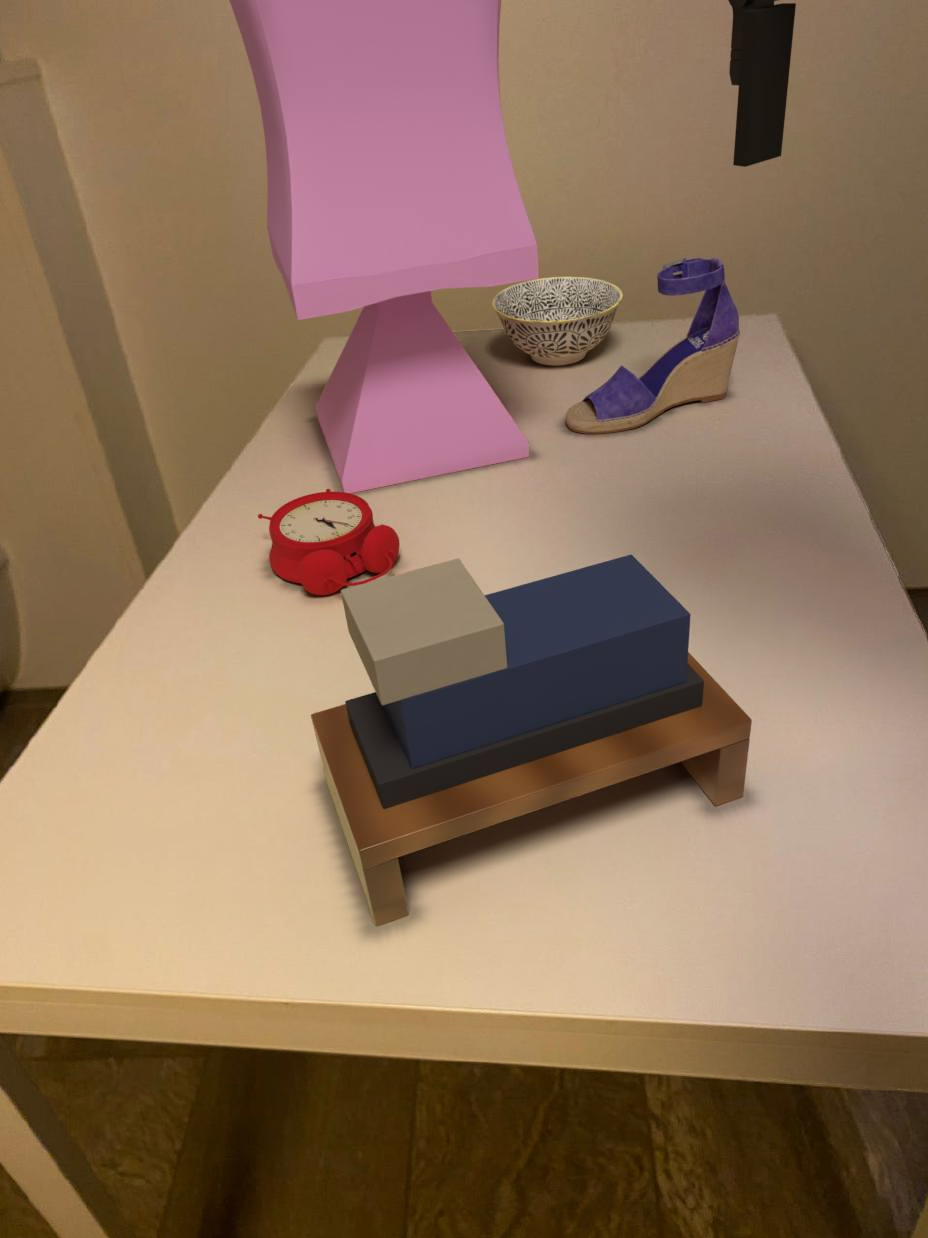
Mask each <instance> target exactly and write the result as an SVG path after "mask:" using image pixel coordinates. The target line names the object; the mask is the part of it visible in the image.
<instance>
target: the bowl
mask: <svg viewBox="0 0 928 1238" xmlns="http://www.w3.org/2000/svg"><path fill="white" fill-rule="evenodd" d="M623 295H624V293H623V291H622V289H621V288H620V287H618V286H617V285H615V284H614V283H611V282H609V281H607V280H603V279H599V278H594V277H586V276H551V277H543V278H538V279H532V280H526V281H521V282H518V283H515V284H513V285H510V286H508V287H506V288H504V289H502V290H501V291H499V292H498V293H497V294H496V295H494V297H493V299H492V301H491V305H492V308H493V310H494V311H495V313H496V315H497V316H498V319H499V321H500V322H501V325H502V327H503V329H504V331H505V334H506V336H507V337H508V339H509V340H510V342H512V343H513V345H514V346H515V347H517V348H518V349H519V350H521V352H524V353H525V354H528V355H530V357H531V360H532V361H534V362H535V363H537V364H540V365H543V366H553V367H554V366H555V367H556V366H557V367H558V366H567V365H572V364H575V363H578V362H580V361H582V360H583V359H584V358H585V357H586V356H587V353H588V352H589V351H591V350H592V349H594V348H595V347H596V346H597V345H599V344H600V343H601V342H602V341H603V339H604V338H605V337H606V336H607V334H608V333H609V331H610V329H611V327H612V324H613V322H614V319H615V316H616V313H617V310H618V309H619V307H620V304H621V302H622V300H623V297H624V296H623Z"/></svg>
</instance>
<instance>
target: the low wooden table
mask: <svg viewBox="0 0 928 1238" xmlns="http://www.w3.org/2000/svg"><path fill="white" fill-rule="evenodd" d="M688 664H689V665H690V666H691V667H692V668H693V669H694V670H695V671H696V673H697V674H698V675H699V676H700V677H701V678H702V679H703V680H704V688H703V701H702V706H700V707H697V708H694V709H691V710H688V711H685V712H682V713H679V714H676V715H673V716H669V717H666V718H663V719H660V720H657V721H654V722H651V723H648V724H645V725H642V726H639V727H636V728H632V729H629V730H626V731H623V732H620V733H617V734H614V735H611V736H608V737H605V738H602V739H599V740H596V741H592V742H589V743H586V744H583V745H580V746H577V747H574V748H571V749H568V750H565V751H562V752H559V753H556V754H552V755H549V756H546V757H543V758H540V759H537V760H534V761H531V762H528V763H525V764H522V765H519V766H515V767H512V768H509V769H506V770H503V771H500V772H497V773H494V774H491V775H488V776H485V777H482V778H479V779H475V780H472V781H469V782H466V783H463V784H460V785H457V786H454V787H451V788H448V789H445V790H442V791H438V792H435V793H432V794H429V795H426V796H423V797H420V798H417V799H414V800H411V801H408V802H405V803H402V804H398V805H395V806H392V807H389V808H386V809H383V807H382V804H381V802H380V799H379V797H378V794H377V792H376V789H375V787H374V784H373V782H372V779H371V777H370V774H369V772H368V769H367V767H366V764H365V761H364V759H363V756H362V754H361V751H360V749H359V746H358V744H357V741H356V739H355V736H354V734H353V731H352V729H351V726H350V722H349V718H348V713H347V708H346V704H345V703H344V704H341V705H337V706H334V707H331V708H328V709H327V708H326V709H324V710H321V711H317V712H314V713H311V714H310V718H311V723H312V726H313V727H312V728H313V730H314V735H315V739H316V743H317V747H318V752H319V756H320V760H321V763H322V768H323V772H324V777H325V781H326V784H327V787H328V791H329V794H330V797H331V800H332V802H333V806H334V808H335V811H336V814H337V818H338V820H339V823H340V826H341V828H342V832H343V835H344V837H345V841H346V843H347V846H348V849H349V852H350V855H351V859H352V860H353V861H352V862H353V864H354V866H355V867H354V868H355V869H356V872H357V877H358V879H359V881H360V884H361V887H362V890H363V893H364V896H365V899H366V902H367V905H368V908H369V911H370V913H371V916H372V920H373V923H374V925H375V926H376V927H379V926H381V925H384V924H387V923H389V922H390V923H391V922H392V921H395V920H397V919H401V918H405V917H407V916H409V913H410V911H409V907H408V902H407V897H406V891H405V887H404V881H403V876H402V872H401V867H400V861H399V858H400V857H403V856H405V855H408V854H409V855H410V854H412V853H415V852H417V851H421V850H423V849H427V848H429V847H433V846H435V845H438V844H441V843H444V842H448V841H450V840H452V839H453V840H454V839H457V838H459V837H461V836H464V835H468V834H471V833H474V832H476V831H480V830H483V829H486V828H488V827H491V826H494V825H497V824H500V823H503V822H506V821H509V820H512V819H515V818H518V817H521V816H524V815H526V814H529V813H532V812H536V811H539V810H541V809H545V808H547V807H551V806H552V805H556V804H559V803H562V802H565V801H568V800H571V799H574V798H577V797H580V796H583V795H585V794H589V793H592V792H595V791H598V790H600V789H604V788H606V787H609V786H612V785H616V784H618V783H621V782H624V781H627V780H630V779H634V778H636V777H639V776H641V775H644V774H647V773H651V772H654V771H656V770H660V769H662V768H666V767H668V766H671V765H674V764H677V763H680V764H681V765H682V766H683V768H684V769H685V770H686V771H687V772H688V773H689V775H690V776H691V777H692V779H693V780H694V781H695V782H696V784H697V785H698V786H699V787H700V789H701V790H702V791H703V792H704V794H705V795H706V796H707V797H708V799H709V800H710V801H711V803H712V804H713V805H714V806H715V807H718V806H721V805H724V804H726V803H729V802H732V801H735V800H737V799H741V798H743V797H744V791H745V784H746V783H745V781H746V776H747V775H746V774H747V765H748V757H749V749H750V741H751V731H752V722H753V720H752V718H751V717H750V716H749V715H748V714H747V713H746V712H745V711H744V709H743V708H742V707H741V706H740V705H739V704H738V703H737V702H736V701H735V699H733V698H732V697H731V696H730V694H728V693H727V692H726V690H725V689H724V688H723V687H722V686H721V685H720V684H719V683H718V682H717V681H716V680H715V678H713V676H712V675H711V674H710V673H709V672H708V671H707V670H706V669H705V668H704V667H703V666H702V665H701V664H700V663H699V662H698V660H697V659H696V658H695V657H694V656H693V655H692V654H691V652H689V651H688Z"/></svg>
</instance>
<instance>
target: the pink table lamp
mask: <svg viewBox="0 0 928 1238" xmlns="http://www.w3.org/2000/svg"><path fill="white" fill-rule="evenodd" d="M229 4H230V6H231V8H232V12H233V15H234V18H235V20H236V24H237V27H238V30H239V32H240V33H239V34H240V35H241V39H242V42H243V47H244V49H245V52H246V55H247V59H248V62H249V66H250V69H251V72H252V76H253V82H254V86H255V90H256V93H257V98H258V102H259V103H258V104H259V107H260V115H261V120H262V127H263V134H264V135H263V136H264V144H265V145H264V146H265V157H266V177H267V178H266V179H267V181H266V182H267V184H266V185H267V202H266V203H267V205H266V206H267V209H266V211H267V212H266V228H267V229H266V230H267V234H268V240H269V244H270V248H271V249H270V250H271V255H272V257H273V260H274V262H275V265H276V267H277V269H278V271H279V273H280V275H281V278H282V280H283V282H284V285H285V288H286V291H287V293H288V297H289V300H290V302H291V305H292V308H293V311H294V314H295V316H296V319H297V321H301V320H307V319H308V320H309V319H311V318H312V319H313V318H319V317H325V316H329V315H336V314H341V313H348V312H351V311H354V310H357V309H361V308H362V310H361V312H360V314H359V316H358V318H357V320H356V322H355V324H354V326H353V328H352V330H351V332H350V334H349V335H348V336H349V337H348V339H347V341H346V343H345V345H344V347H343V349H342V350H341V353H340V355H339V356H338V359H337V361H336V363H335V365H334V367H333V370H332V372H331V374H330V376H329V378H328V380H327V382H326V384H325V386H324V388H323V390H322V392H321V395H320V396H319V398H318V400H317V402H316V404H315V409H316V414H317V420H318V423H319V425H320V428H321V431H322V434H323V437H324V440H325V442H326V445H327V449H328V451H329V454H330V456H331V460H332V462H333V466H334V468H335V471H336V474H337V476H338V479H339V482H340V485H341V488H342V490H343V491H342V492H345V493H350V494H354V493H359V492H364V491H368V490H373V489H378V488H383V487H388V486H393V485H398V484H404V483H407V482H412V481H417V480H422V479H427V478H432V477H436V476H437V477H438V476H442V475H446V474H451V473H457V472H462V471H466V470H467V471H468V470H472V469H477V468H481V467H487V466H491V465H496V464H501V463H506V462H511V461H515V460H520V459H525V458H530V445H529V443H530V442H529V440H528V439H527V438H526V436H525V434H524V433H523V432H522V430H521V429H520V428H519V426H518V425H517V423H516V421H515V420H514V418H513V417H512V415H511V414H510V413H509V412H508V410H507V408H506V407H505V405H504V404H503V403H502V401H501V400H500V398H499V397H498V396H497V394H496V392H495V391H494V389H493V388H492V387H491V385H490V384H489V383H488V381H487V380H486V378H485V376H484V375H483V374H482V372H481V370H480V369H479V368H478V367H477V365H476V364H475V362H474V361H473V359H472V358H471V356H470V355H469V354H468V352H467V351H466V348H465V347H464V346H463V345H462V343H461V342H460V341H459V339H458V338H457V335H456V334H455V333H454V332H453V330H452V329H451V327H450V326H449V324H448V323H447V321H446V320H445V319H444V317H443V315H442V314H441V313H440V311H439V310H438V308H437V307H436V305H435V304H434V303H433V297H432V291H439V290H445V289H465V288H469V289H470V288H488V287H489V288H490V287H497V286H502V285H508V284H509V285H510V284H514V283H515V284H516V283H522V282H526V281H530V280H535V279H540V278H539V273H540V272H539V252H538V242H537V240H536V237H535V233H534V230H533V229H532V225H531V222H530V219H529V217H528V213H527V211H526V210H527V209H526V207H525V204H524V201H523V198H522V194H521V191H520V188H519V185H518V182H517V179H516V174H515V171H514V167H513V163H512V157H511V154H510V150H509V146H508V142H507V136H506V130H505V124H504V118H503V111H502V105H501V91H500V90H501V89H500V88H501V87H500V67H499V58H500V57H499V56H500V24H501V23H500V21H501V8H502V0H229Z"/></svg>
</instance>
